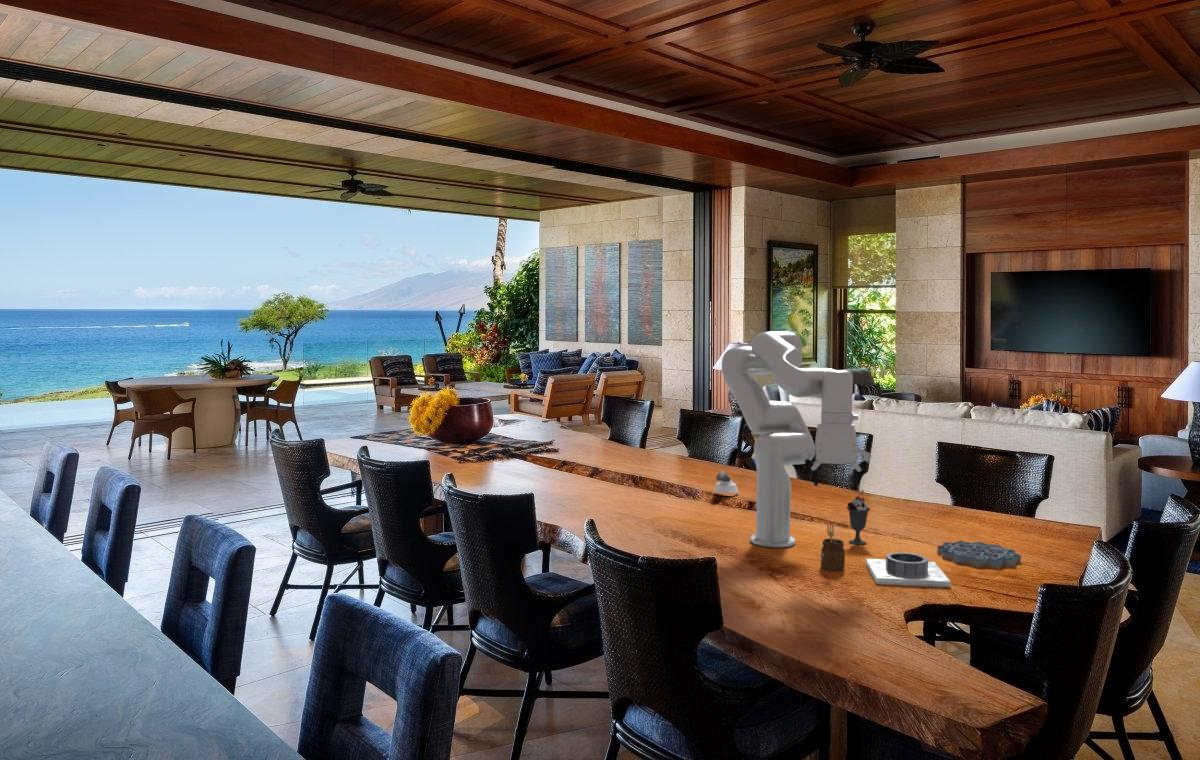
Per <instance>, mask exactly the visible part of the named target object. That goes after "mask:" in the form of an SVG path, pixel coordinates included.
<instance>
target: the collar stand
mask: <svg viewBox="0 0 1200 760" xmlns="http://www.w3.org/2000/svg"><path fill="white" fill-rule="evenodd" d="M865 566H866V567H867V569H868V571H869V573H870V574H871V576H872V578H873V580H874V582H875V584H877V585H888V586H889V585H890V586H906V587H907V586H908V587H927V588H928V587H929V588H943V587H950V588H949V589H951V588H952V581H951V580H950V579H949V578H948V577H947V575H946V574H945V573H944V571H943V570H942V569H941V568H940V567H939V566H938V565H937V563H936V562H935V561H929V559H928V558H927V557H926V556H923V555H921V554H917V553H911V552H898V551H897V552H890V553H887V554H886V555H885V559H882V558H865Z"/></svg>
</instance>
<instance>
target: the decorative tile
mask: <svg viewBox="0 0 1200 760" xmlns="http://www.w3.org/2000/svg"><path fill="white" fill-rule="evenodd" d="M936 549H937V551H936V553H937V554H938V553H940V554H939V555H941V554H943V555H941V556H942V559H943V558H946V559H945V560H948V559H951V560H950V561H952V560H953V562H954V564H956V563H960V564H959V565H966V564H968V566H971V567H973V568H991V569H998V570H1000V569H1001V568H1003V567H1006V568H1016V564H1021V563H1022V562H1021V561H1022V555H1021V554H1018V553H1016V550H1015V549H1011V548H1005V547H1002V546H1001V545H1000V544H990V543H989V544H988V543H984V542H982V541H975V542H973V541H972V542H971V541H970V542H969V541H963V540H958V541H956V542H947V541H946V542H943V545H937V548H936Z"/></svg>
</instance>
